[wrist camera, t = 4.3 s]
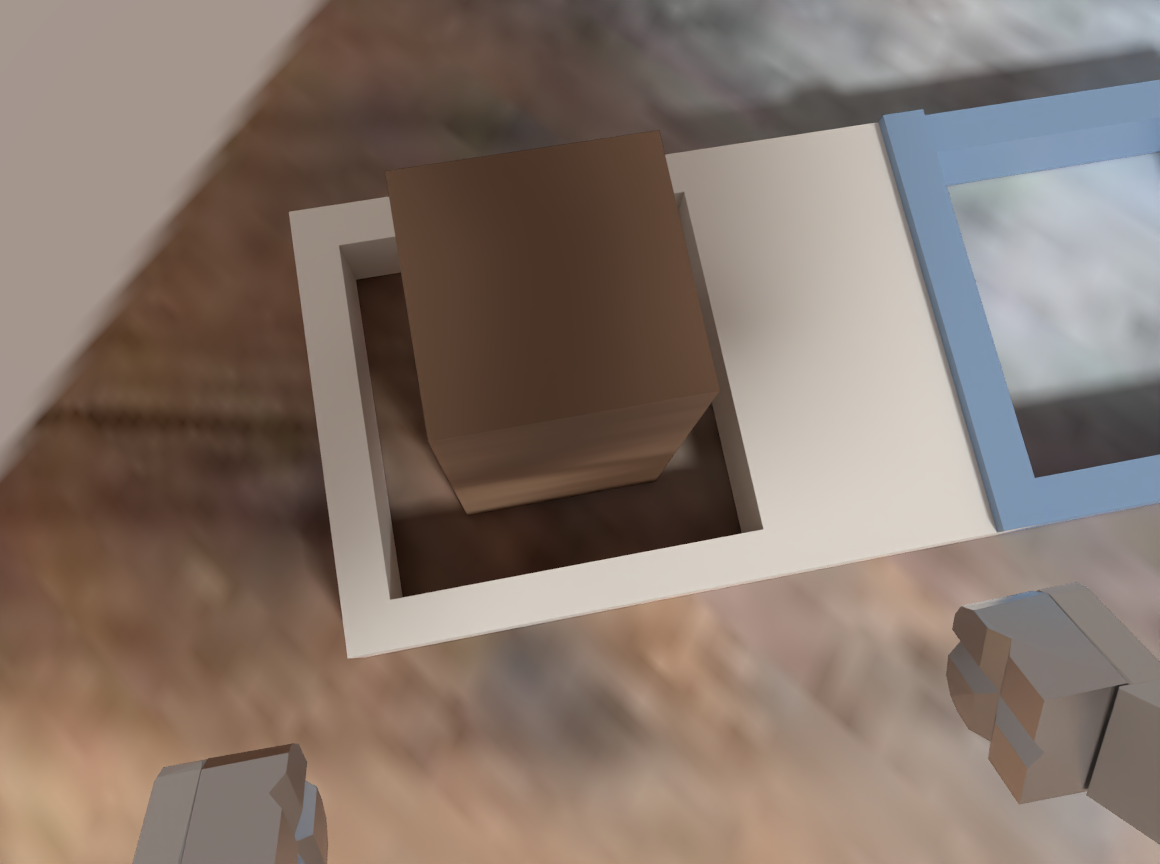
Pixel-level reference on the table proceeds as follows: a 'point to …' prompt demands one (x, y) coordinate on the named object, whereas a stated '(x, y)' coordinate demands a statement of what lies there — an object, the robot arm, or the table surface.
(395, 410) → the table surface
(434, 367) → the walnut block
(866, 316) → the two-window frame tray
